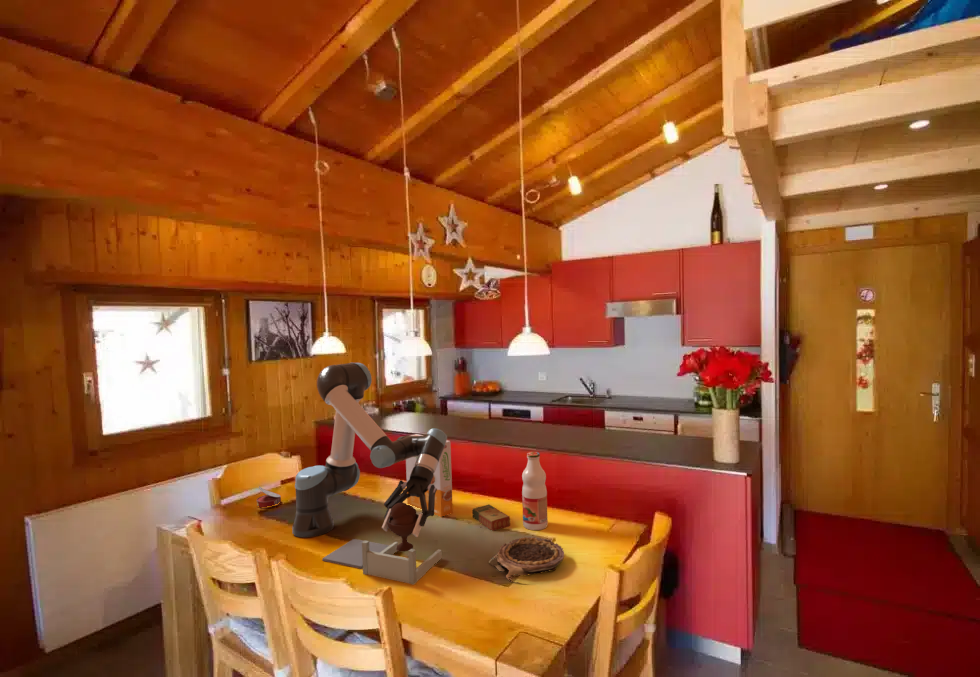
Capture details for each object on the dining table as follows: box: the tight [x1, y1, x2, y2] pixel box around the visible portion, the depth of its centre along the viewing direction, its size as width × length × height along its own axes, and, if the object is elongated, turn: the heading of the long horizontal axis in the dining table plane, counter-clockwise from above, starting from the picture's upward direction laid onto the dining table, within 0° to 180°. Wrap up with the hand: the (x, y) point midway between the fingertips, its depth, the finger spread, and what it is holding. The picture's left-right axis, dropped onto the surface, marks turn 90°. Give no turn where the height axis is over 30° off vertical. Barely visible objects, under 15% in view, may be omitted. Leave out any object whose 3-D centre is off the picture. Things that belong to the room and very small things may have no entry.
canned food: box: [256, 486, 282, 507], centre depth 221 cm, size 11×10×10 cm
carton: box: [471, 504, 511, 532], centre depth 193 cm, size 8×16×4 cm, turn 30°
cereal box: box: [405, 433, 454, 518], centre depth 209 cm, size 22×6×30 cm, turn 47°
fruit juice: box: [521, 451, 549, 531], centre depth 188 cm, size 9×9×28 cm
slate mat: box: [322, 538, 391, 570], centre depth 169 cm, size 16×16×1 cm
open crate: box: [362, 540, 443, 586], centre depth 159 cm, size 19×17×10 cm
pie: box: [491, 536, 565, 586], centre depth 159 cm, size 28×27×5 cm
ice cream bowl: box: [387, 502, 419, 552], centre depth 159 cm, size 11×11×15 cm
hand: (399, 532), depth 157 cm, fingers closed on ice cream bowl, 11 cm apart
